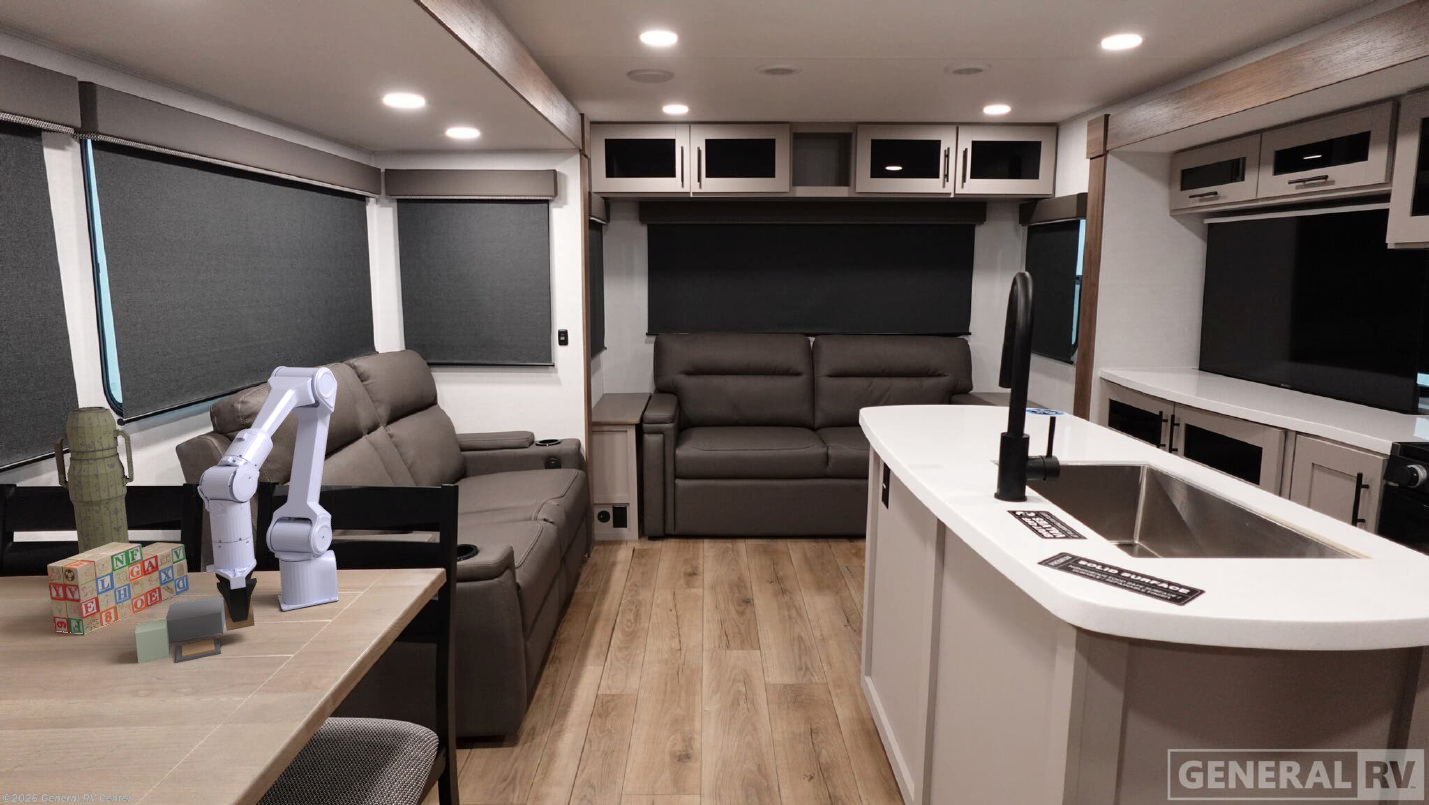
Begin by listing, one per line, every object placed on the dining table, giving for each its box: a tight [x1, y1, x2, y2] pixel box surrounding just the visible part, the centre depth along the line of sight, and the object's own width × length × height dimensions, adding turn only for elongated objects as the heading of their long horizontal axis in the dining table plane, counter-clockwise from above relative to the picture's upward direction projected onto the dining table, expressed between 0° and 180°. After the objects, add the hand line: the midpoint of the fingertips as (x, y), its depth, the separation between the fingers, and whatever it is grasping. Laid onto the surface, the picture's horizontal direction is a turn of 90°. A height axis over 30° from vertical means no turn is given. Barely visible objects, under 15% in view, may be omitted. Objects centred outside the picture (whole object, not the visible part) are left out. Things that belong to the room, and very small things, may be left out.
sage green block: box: [134, 618, 170, 664], centre depth 128 cm, size 4×4×5 cm
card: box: [175, 637, 222, 664], centre depth 130 cm, size 6×6×1 cm
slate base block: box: [165, 596, 226, 643], centre depth 138 cm, size 8×8×4 cm
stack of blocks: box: [46, 541, 189, 634], centre depth 145 cm, size 21×6×12 cm, turn 169°
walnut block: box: [222, 594, 255, 632], centre depth 134 cm, size 4×4×5 cm
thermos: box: [52, 406, 135, 554], centre depth 156 cm, size 9×12×35 cm
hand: (239, 615), depth 134 cm, fingers closed on walnut block, 4 cm apart
